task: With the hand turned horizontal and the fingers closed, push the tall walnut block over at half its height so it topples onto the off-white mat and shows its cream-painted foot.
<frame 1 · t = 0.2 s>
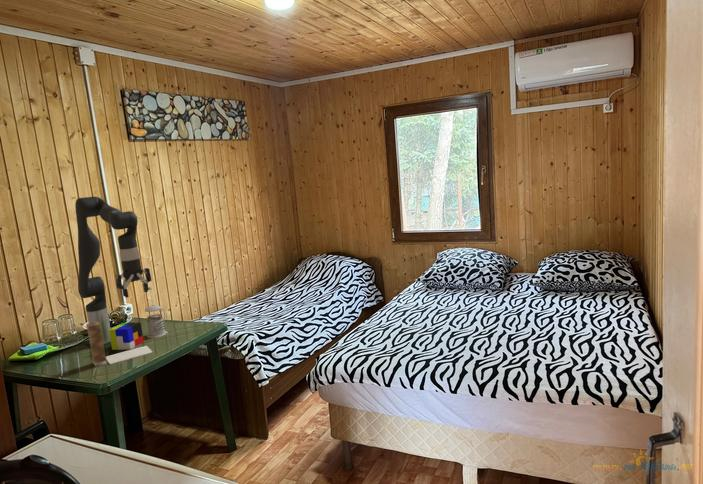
hand: (136, 294, 209), 29 cm above the table, tool pointing down, fingers open, 8 cm apart
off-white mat: (129, 355, 219), on the table
french press: (158, 334, 247), on the table
puzzle toy: (128, 346, 233), on the table
walnut block: (100, 363, 212), on the table
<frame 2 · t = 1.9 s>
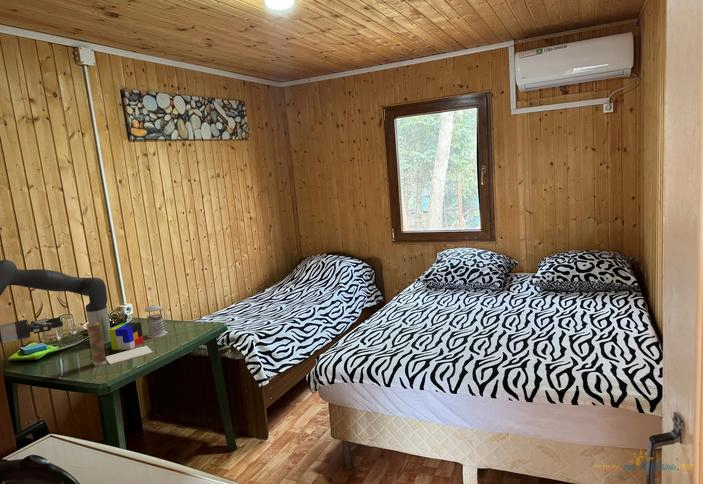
hand: (61, 321, 202), 22 cm above the table, tool horizontal, fingers open, 8 cm apart
nothing on the table moved.
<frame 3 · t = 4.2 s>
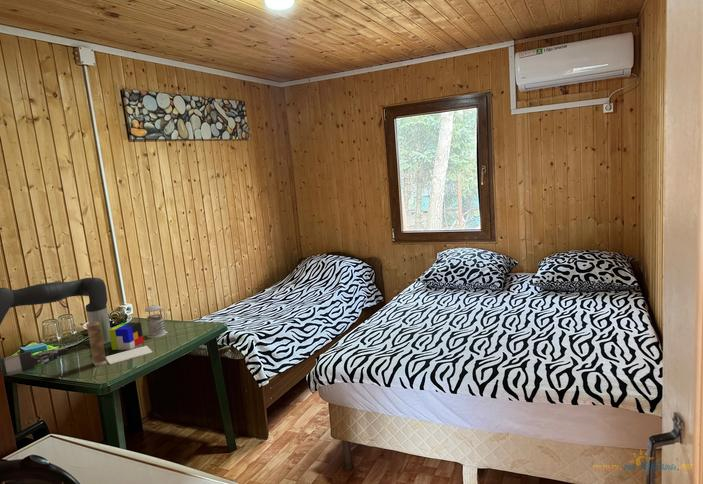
hand: (68, 350, 205), 9 cm above the table, tool horizontal, fingers closed
nothing on the table moved.
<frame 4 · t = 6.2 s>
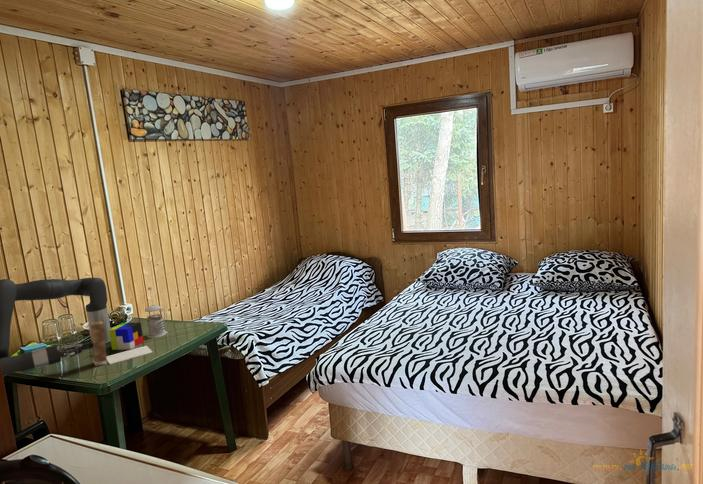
hand: (92, 344, 210), 9 cm above the table, tool horizontal, fingers closed
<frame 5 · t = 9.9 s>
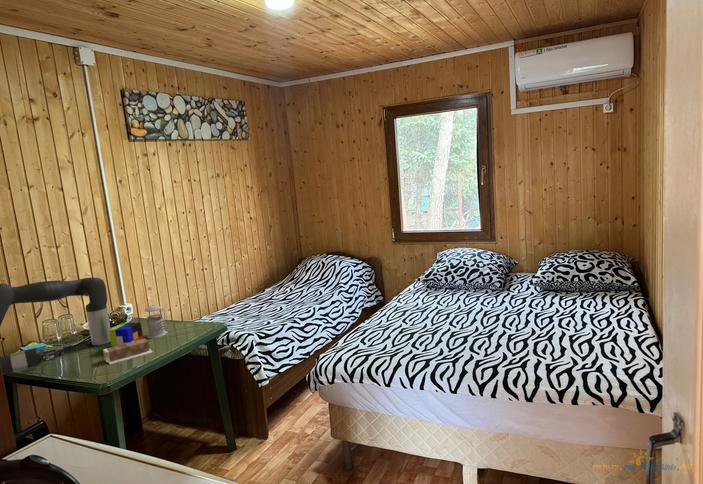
hand: (73, 347, 206), 10 cm above the table, tool horizontal, fingers closed
walnut block: (104, 356, 213), point 3 cm above the table, tilted 90°, touching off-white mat
everything else where it was.
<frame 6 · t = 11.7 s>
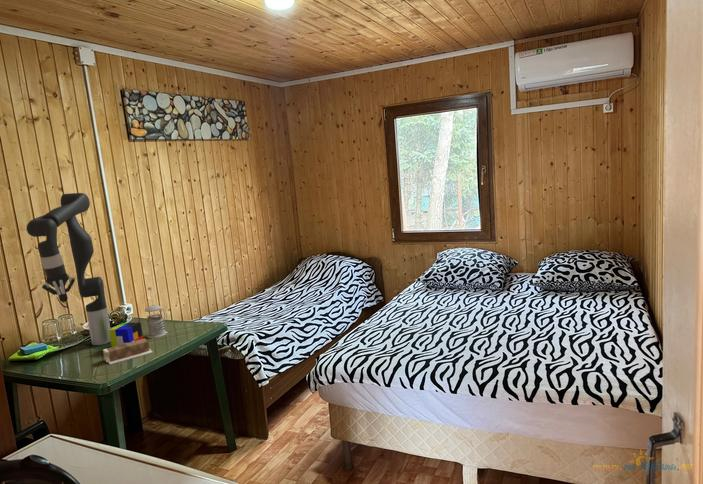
hand: (64, 301, 210), 29 cm above the table, tool pointing down, fingers closed
nothing on the table moved.
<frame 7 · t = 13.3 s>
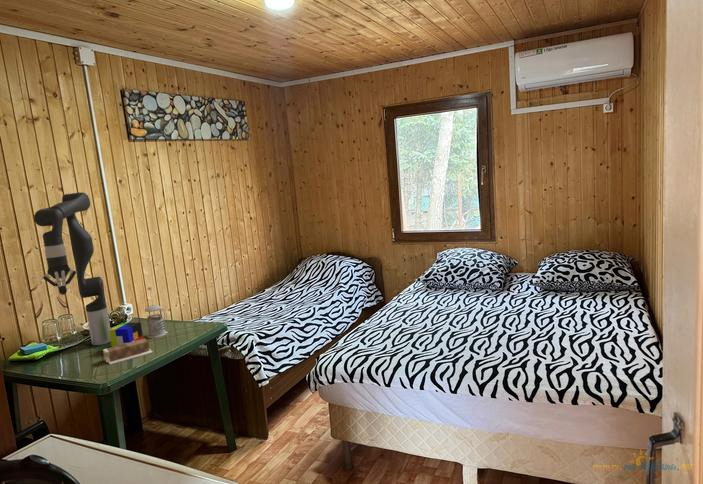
hand: (63, 294, 209), 32 cm above the table, tool pointing down, fingers closed
nothing on the table moved.
at the end: walnut block tilted 90°; walnut block touching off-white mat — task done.
